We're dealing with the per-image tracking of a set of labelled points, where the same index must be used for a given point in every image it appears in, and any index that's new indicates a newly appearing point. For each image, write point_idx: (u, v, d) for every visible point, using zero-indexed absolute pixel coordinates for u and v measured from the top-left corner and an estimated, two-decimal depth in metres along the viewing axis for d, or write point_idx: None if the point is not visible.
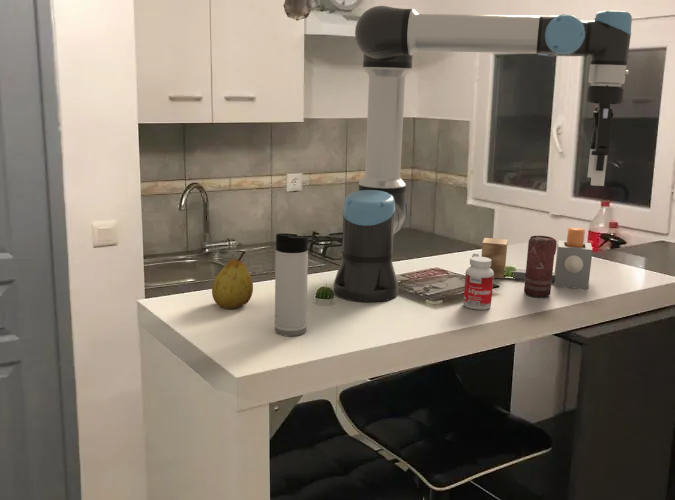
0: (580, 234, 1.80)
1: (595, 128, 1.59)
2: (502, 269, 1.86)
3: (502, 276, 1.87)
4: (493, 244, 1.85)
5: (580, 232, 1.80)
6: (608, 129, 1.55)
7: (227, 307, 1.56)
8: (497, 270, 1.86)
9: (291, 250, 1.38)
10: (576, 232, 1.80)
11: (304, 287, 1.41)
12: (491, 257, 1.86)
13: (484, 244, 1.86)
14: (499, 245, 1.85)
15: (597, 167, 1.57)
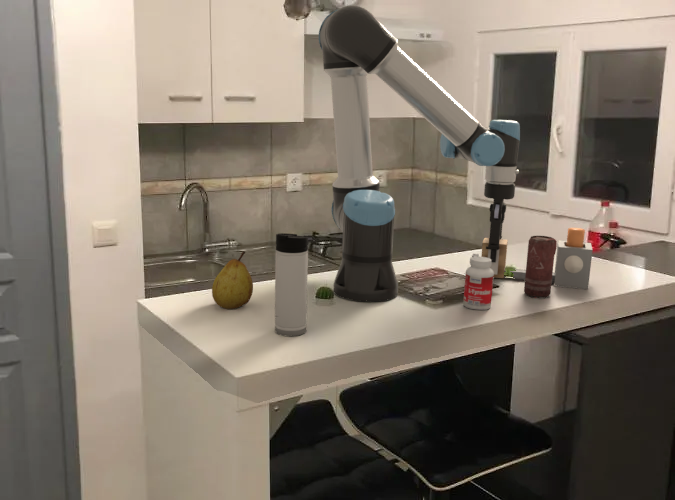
0: (580, 234, 1.80)
1: (490, 221, 1.85)
2: (502, 269, 1.86)
3: (502, 276, 1.87)
4: None
5: (580, 232, 1.80)
6: (498, 228, 1.81)
7: (227, 307, 1.56)
8: None
9: (291, 250, 1.38)
10: (576, 232, 1.80)
11: (304, 287, 1.41)
12: None
13: (484, 244, 1.86)
14: (499, 245, 1.85)
15: None
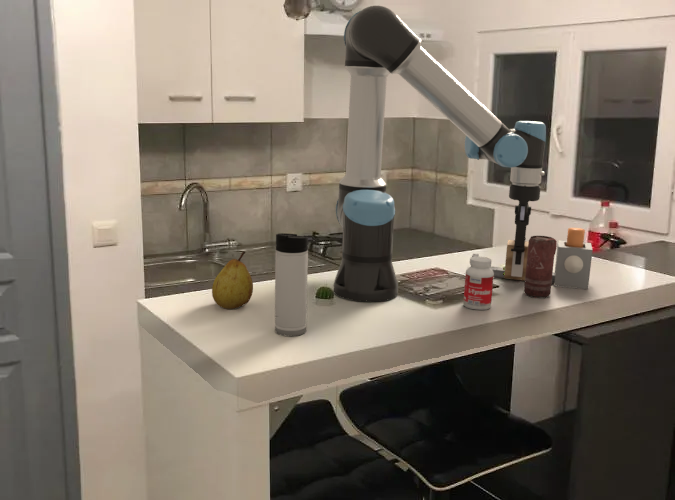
0: (580, 234, 1.80)
1: (515, 223, 1.83)
2: None
3: None
4: None
5: (580, 232, 1.80)
6: (524, 230, 1.79)
7: (227, 307, 1.56)
8: (522, 272, 1.85)
9: (291, 250, 1.38)
10: (576, 232, 1.80)
11: (304, 287, 1.41)
12: None
13: (509, 246, 1.84)
14: (524, 247, 1.83)
15: (515, 261, 1.83)
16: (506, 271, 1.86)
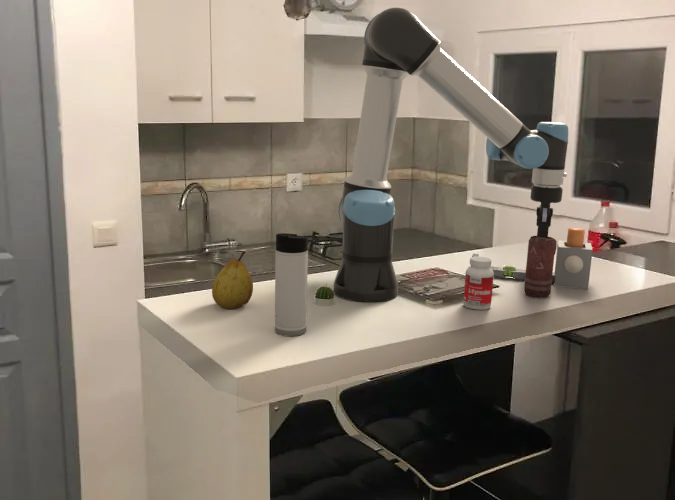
0: (580, 234, 1.80)
1: (537, 225, 1.82)
2: None
3: None
4: None
5: (580, 232, 1.80)
6: (546, 232, 1.78)
7: (227, 307, 1.56)
8: None
9: (291, 250, 1.38)
10: (576, 232, 1.80)
11: (304, 287, 1.41)
12: None
13: None
14: None
15: None
16: None
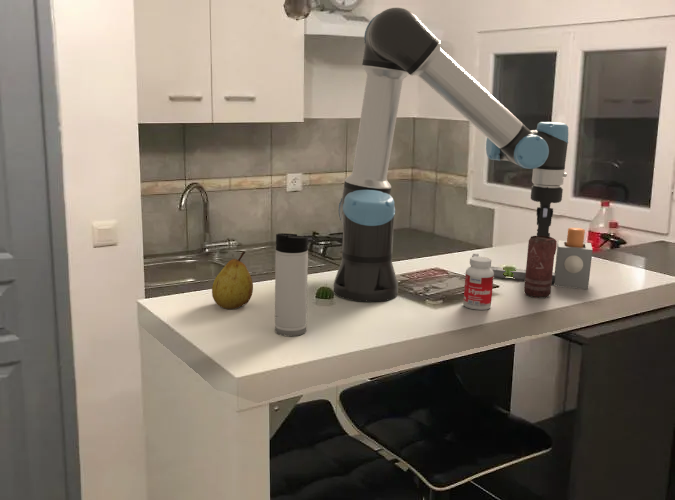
0: (580, 234, 1.80)
1: (537, 224, 1.81)
2: None
3: None
4: None
5: (580, 232, 1.80)
6: (547, 227, 1.76)
7: (227, 307, 1.56)
8: None
9: (291, 250, 1.38)
10: (576, 232, 1.80)
11: (304, 287, 1.41)
12: None
13: None
14: None
15: None
16: None
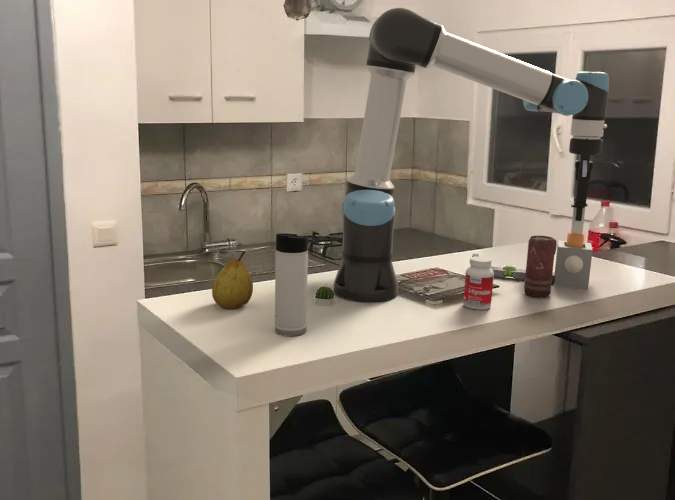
0: (580, 238, 1.80)
1: (576, 179, 1.78)
2: None
3: None
4: None
5: (579, 237, 1.80)
6: (586, 187, 1.74)
7: (227, 307, 1.56)
8: None
9: (291, 250, 1.38)
10: (575, 237, 1.80)
11: (304, 287, 1.41)
12: None
13: None
14: None
15: (576, 218, 1.79)
16: None
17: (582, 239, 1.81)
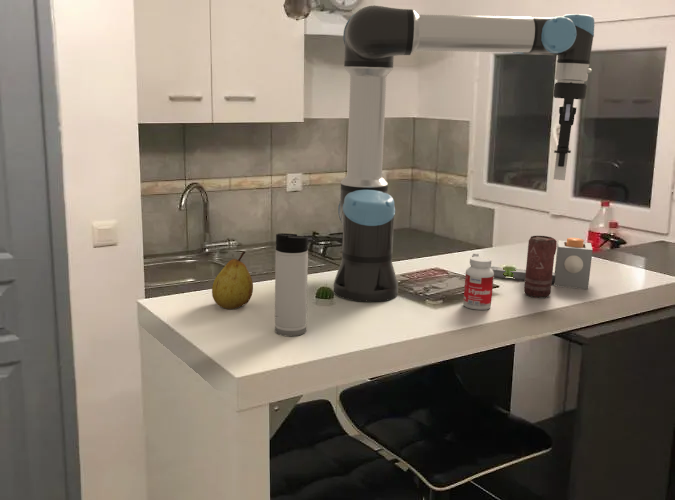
0: (579, 244, 1.81)
1: None
2: None
3: None
4: None
5: (579, 242, 1.81)
6: (569, 131, 1.74)
7: (227, 307, 1.56)
8: None
9: (291, 250, 1.38)
10: (575, 242, 1.81)
11: (304, 287, 1.41)
12: None
13: None
14: None
15: (559, 163, 1.79)
16: None
17: (581, 245, 1.81)
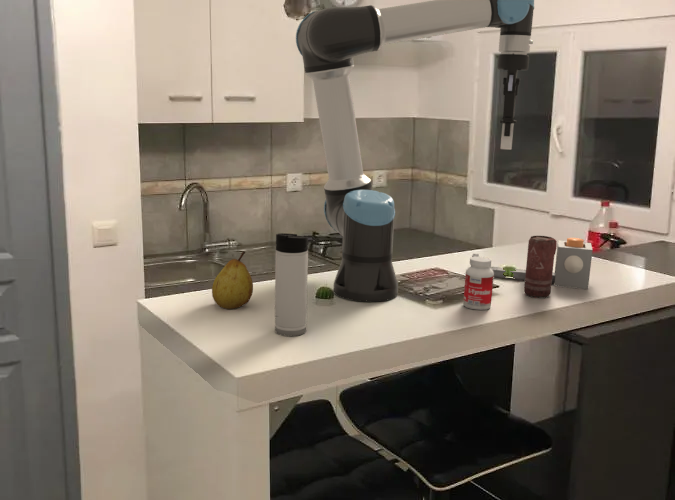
0: (579, 244, 1.81)
1: None
2: None
3: None
4: None
5: (579, 242, 1.81)
6: (512, 101, 1.79)
7: (227, 307, 1.56)
8: None
9: (291, 250, 1.38)
10: (575, 242, 1.81)
11: (304, 287, 1.41)
12: None
13: None
14: None
15: (505, 133, 1.84)
16: None
17: (581, 245, 1.81)
